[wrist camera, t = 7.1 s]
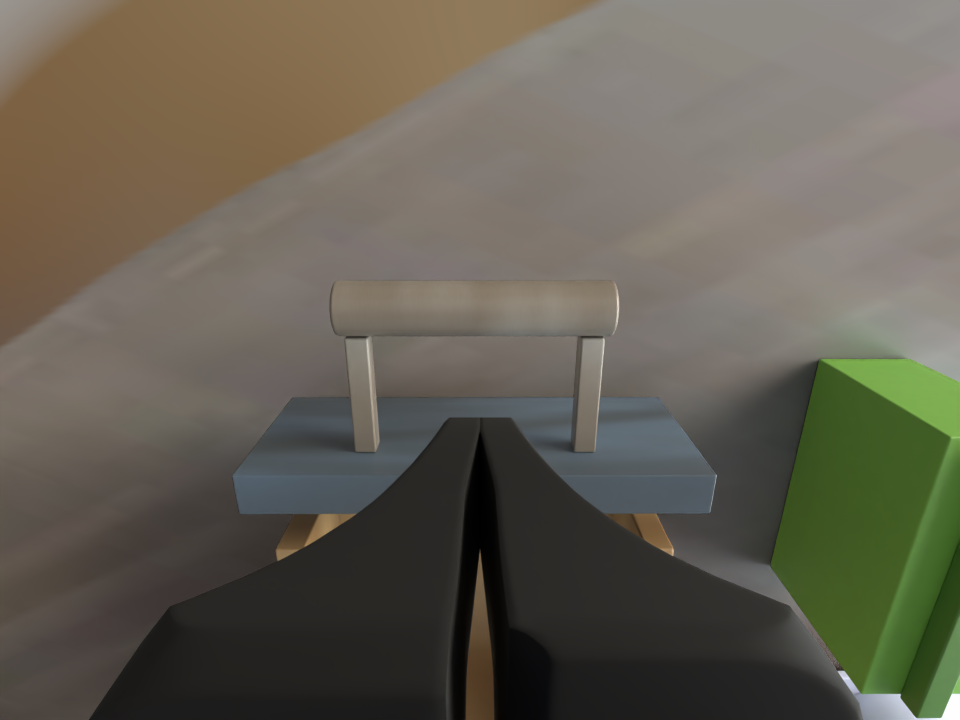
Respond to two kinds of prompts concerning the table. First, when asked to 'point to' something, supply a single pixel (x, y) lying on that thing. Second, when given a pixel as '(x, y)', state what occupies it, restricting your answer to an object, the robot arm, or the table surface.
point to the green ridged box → (879, 527)
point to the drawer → (415, 420)
